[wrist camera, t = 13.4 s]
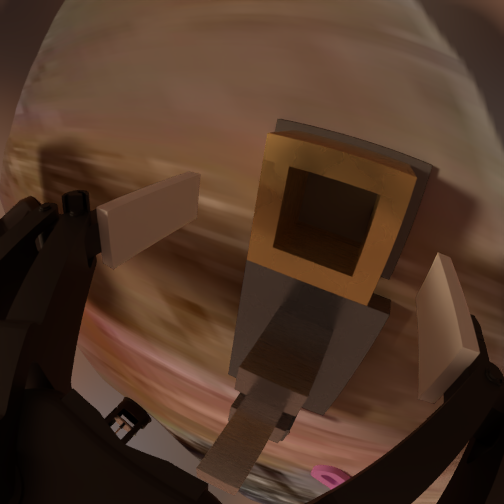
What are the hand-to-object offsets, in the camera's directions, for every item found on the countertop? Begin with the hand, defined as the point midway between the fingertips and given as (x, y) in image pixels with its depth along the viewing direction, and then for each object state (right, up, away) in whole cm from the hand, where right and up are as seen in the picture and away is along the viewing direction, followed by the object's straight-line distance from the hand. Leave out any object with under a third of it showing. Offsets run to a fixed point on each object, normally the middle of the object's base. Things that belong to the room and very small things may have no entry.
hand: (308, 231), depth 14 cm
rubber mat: (+4, +3, +6) cm, 7 cm away
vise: (+2, -11, +14) cm, 17 cm away
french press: (-33, -42, +49) cm, 72 cm away
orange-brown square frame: (+3, +3, +5) cm, 7 cm away
